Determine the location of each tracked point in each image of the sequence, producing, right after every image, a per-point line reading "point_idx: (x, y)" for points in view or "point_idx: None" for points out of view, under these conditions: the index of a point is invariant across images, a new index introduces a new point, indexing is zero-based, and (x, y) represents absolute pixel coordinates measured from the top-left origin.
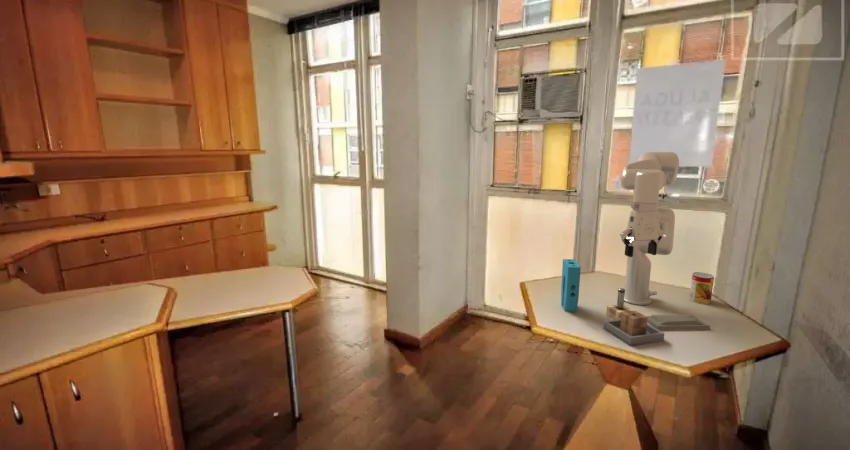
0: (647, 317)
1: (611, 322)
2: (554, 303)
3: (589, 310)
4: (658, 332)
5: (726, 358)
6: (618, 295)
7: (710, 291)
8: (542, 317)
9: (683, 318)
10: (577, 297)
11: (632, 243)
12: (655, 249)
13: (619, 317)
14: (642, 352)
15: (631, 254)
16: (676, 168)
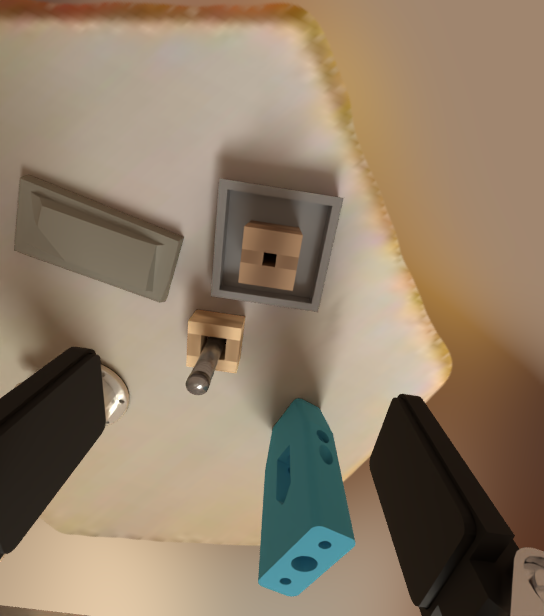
0: (245, 226)
1: (299, 300)
2: None
3: (259, 391)
4: (227, 195)
5: (136, 4)
6: (213, 373)
7: None
8: None
9: (72, 232)
10: (309, 424)
11: (540, 611)
12: (35, 390)
13: (240, 321)
14: (340, 154)
15: (432, 416)
16: None
